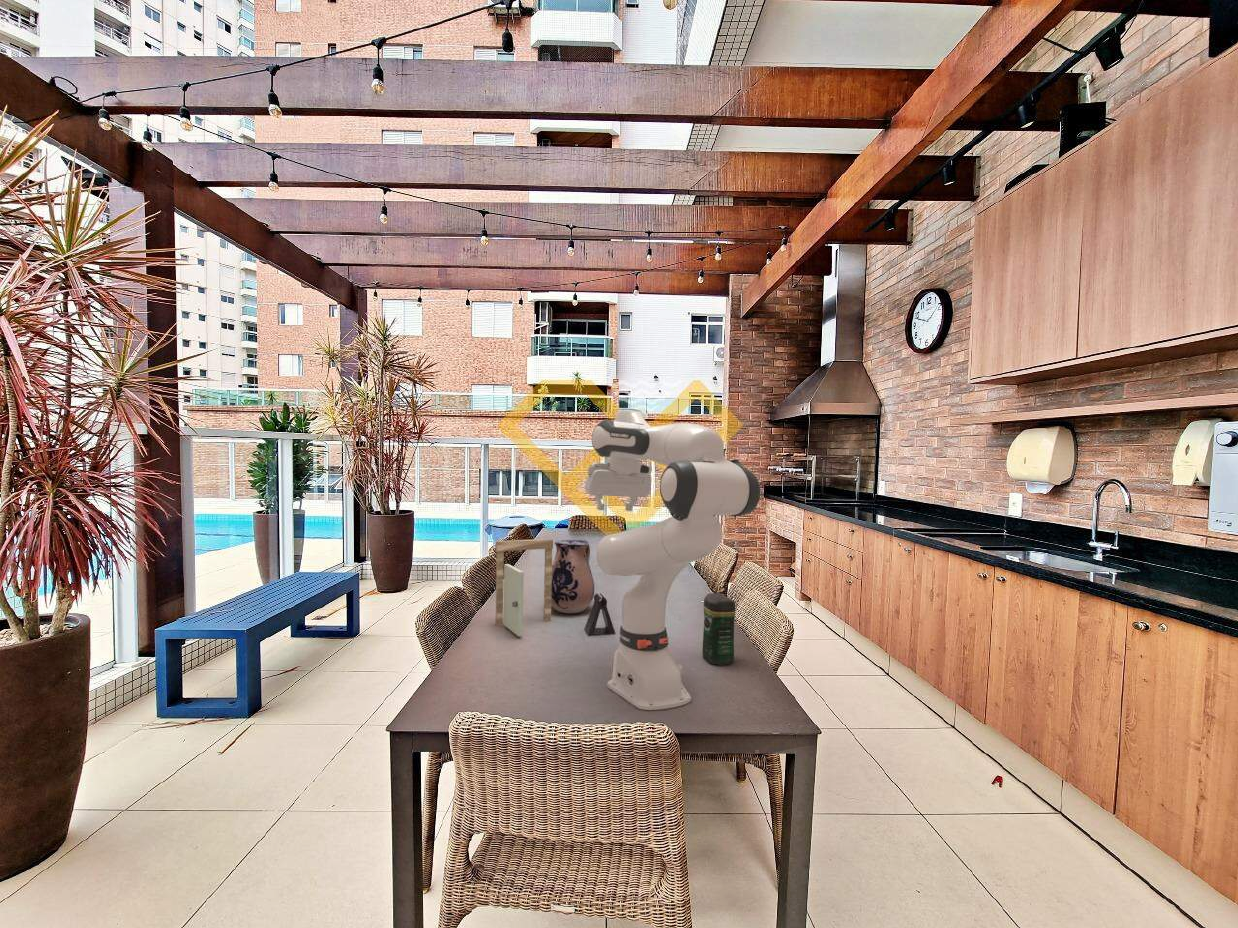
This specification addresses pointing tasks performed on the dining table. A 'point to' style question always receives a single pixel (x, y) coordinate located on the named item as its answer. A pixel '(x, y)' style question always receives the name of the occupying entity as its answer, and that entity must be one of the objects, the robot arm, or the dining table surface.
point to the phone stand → (593, 618)
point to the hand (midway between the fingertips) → (614, 510)
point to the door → (513, 599)
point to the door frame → (500, 549)
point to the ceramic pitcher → (571, 577)
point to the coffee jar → (718, 629)
